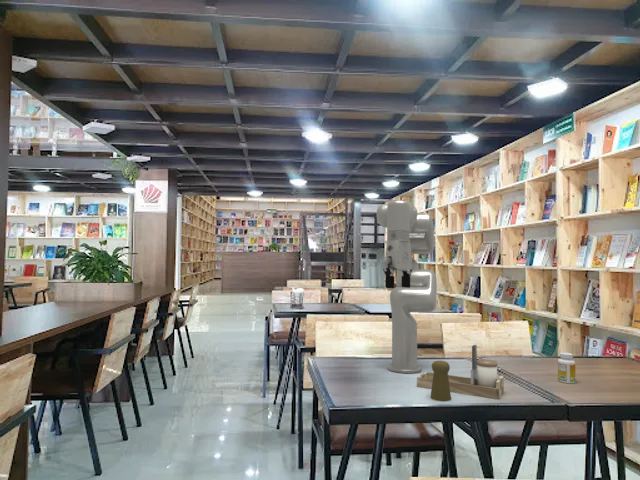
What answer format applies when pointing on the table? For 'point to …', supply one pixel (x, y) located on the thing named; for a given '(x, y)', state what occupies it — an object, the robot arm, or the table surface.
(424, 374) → the wooden tray
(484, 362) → the jar
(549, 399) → the table surface
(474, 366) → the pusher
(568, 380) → the supplement bottle
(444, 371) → the olive brown waisted cylinder
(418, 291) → the robot arm
